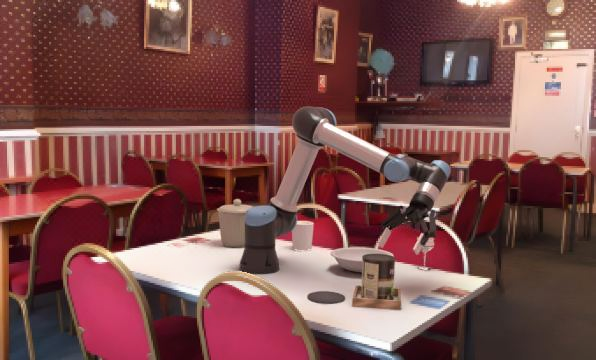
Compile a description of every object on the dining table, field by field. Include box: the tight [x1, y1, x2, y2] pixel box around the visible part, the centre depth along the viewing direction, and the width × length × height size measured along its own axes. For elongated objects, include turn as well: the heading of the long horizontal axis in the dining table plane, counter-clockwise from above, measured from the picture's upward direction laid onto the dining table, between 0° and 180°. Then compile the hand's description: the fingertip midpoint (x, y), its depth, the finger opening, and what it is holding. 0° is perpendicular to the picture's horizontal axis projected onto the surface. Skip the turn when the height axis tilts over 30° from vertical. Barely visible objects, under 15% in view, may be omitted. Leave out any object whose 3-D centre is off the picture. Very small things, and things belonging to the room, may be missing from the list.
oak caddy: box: [351, 285, 402, 311], centre depth 181 cm, size 15×15×2 cm
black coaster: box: [306, 290, 346, 305], centre depth 183 cm, size 12×12×1 cm
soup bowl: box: [330, 246, 395, 273], centre depth 219 cm, size 24×24×7 cm
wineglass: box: [416, 236, 435, 268], centre depth 225 cm, size 7×7×12 cm
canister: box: [216, 198, 254, 248], centre depth 260 cm, size 18×18×21 cm
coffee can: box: [360, 254, 396, 300], centre depth 181 cm, size 10×10×14 cm
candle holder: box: [291, 220, 315, 250], centre depth 255 cm, size 10×10×12 cm
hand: (397, 248), depth 186 cm, fingers open, 13 cm apart
